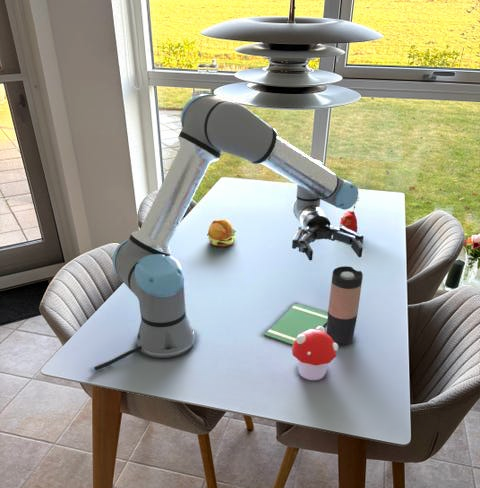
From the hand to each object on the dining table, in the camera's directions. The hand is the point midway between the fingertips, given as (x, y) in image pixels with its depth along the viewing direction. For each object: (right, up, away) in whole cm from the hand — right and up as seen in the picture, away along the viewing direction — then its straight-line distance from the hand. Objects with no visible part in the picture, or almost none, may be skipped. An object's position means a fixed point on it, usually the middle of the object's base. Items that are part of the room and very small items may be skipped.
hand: (336, 254), depth 134 cm
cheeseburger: (-32, +11, +55) cm, 64 cm away
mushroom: (-8, -31, -9) cm, 33 cm away
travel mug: (+2, -23, +3) cm, 23 cm away
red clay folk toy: (+16, +15, +60) cm, 64 cm away
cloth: (-9, -19, +9) cm, 23 cm away
